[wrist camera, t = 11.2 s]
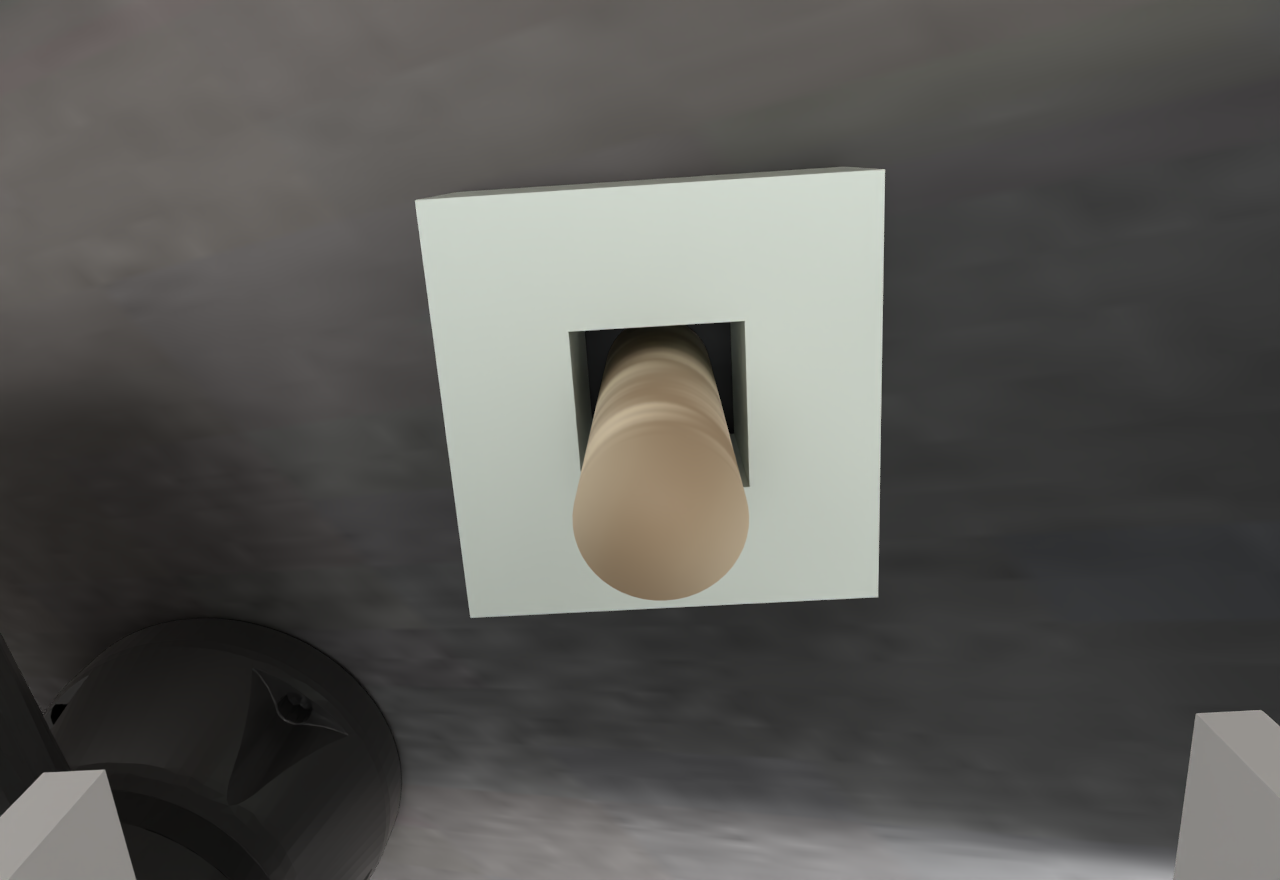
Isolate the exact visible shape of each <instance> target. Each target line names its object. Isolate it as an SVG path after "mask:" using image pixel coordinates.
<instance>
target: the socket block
mask: <svg viewBox="0 0 1280 880" xmlns="http://www.w3.org/2000/svg"><path fill="white" fill-rule="evenodd" d="M884 198H885V169H873V168H858V167H830V168H815V169H799V170H784V171H769V172H754V173H739V174H723V175H708V176H693V177H678V178H663V179H647V180H632V181H617V182H602V183H587V184H571V185H556V186H541V187H526V188H510V189H495V190H480V191H465V192H454V193H449V194H444V195H439V196H433V197H428V198H423V199H418V200H415V205H416V213H417V220H418V228H419V235H420V243H421V250H422V258H423V265H424V273H425V280H426V288H427V295H428V303H429V310H430V318H431V325H432V333H433V340H434V348H435V355H436V363H437V370H438V378H439V385H440V393H441V400H442V408H443V416H444V423H445V431H446V438H447V446H448V453H449V461H450V468H451V476H452V483H453V491H454V498H455V506H456V513H457V521H458V528H459V536H460V543H461V551H462V558H463V566H464V573H465V581H466V588H467V596H468V603H469V611H470V618H477V617H497V616H516V615H536V614H555V613H575V612H595V611H614V610H634V609H654V608H673V607H693V606H713V605H732V604H752V603H771V602H791V601H811V600H830V599H850V598H870V597H878V571H879V508H880V446H881V384H882V322H883V260H884ZM720 322H730V329H731V359H732V388H733V417H734V434H729V435H730V439H731V442H732V446H733V450H734V454H735V457H736V461H737V465H738V469H739V473H740V476H741V480H742V484H743V488H744V491H745V495H746V499H747V503H748V510H749V529H748V534H747V539H746V542H745V545H744V548H743V550H742V552H741V554H740V556H739V558H738V559H737V561H736V562H735V564H734V565H733V567H732V568H731V569H730V570H729V571H728V572H727V573H726V575H725V576H723V577H722V578H721V579H720V580H719V581H718V582H716V583H715V584H713V585H712V586H710V587H709V588H707V589H705V590H703V591H701V592H699V593H697V594H694V595H691V596H689V597H685V598H680V599H676V600H666V601H654V600H646V599H641V598H637V597H633V596H630V595H627V594H625V593H622V592H620V591H618V590H616V589H615V588H613V587H611V586H610V585H608V584H607V583H605V582H604V581H603V580H602V579H600V578H599V577H598V576H597V575H596V574H595V573H594V572H593V571H592V569H591V568H590V567H589V566H588V565H587V563H586V561H585V560H584V558H583V557H582V555H581V553H580V551H579V549H578V546H577V543H576V540H575V537H574V531H573V516H572V515H573V507H574V501H575V497H576V492H577V488H578V484H579V479H580V475H581V470H582V466H583V462H584V457H585V453H586V448H587V444H588V440H589V435H590V431H591V426H592V412H591V400H590V388H589V376H588V363H587V351H586V339H585V331H588V330H604V329H621V328H637V327H654V326H670V325H687V324H703V323H720Z"/></svg>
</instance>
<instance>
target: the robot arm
mask: <svg viewBox="0 0 1280 880" xmlns="http://www.w3.org/2000/svg"><path fill="white" fill-rule="evenodd" d="M401 785H402V784H401V769H400V761H399V757H398V752H397V749H396V745H395V742H394V739H393V737H392V734H391V732H390V729H389V727H388V725H387V723H386V721H385V719H384V718H383V716H382V714H381V712H380V711H379V709H378V708H377V706H376V705H375V703H374V702H373V700H372V699H371V698H370V696H369V695H368V694H367V693H366V691H365V690H364V689H363V688H362V687H361V686H360V685H359V684H358V683H357V681H356V680H355V679H354V678H353V677H351V676H350V675H349V674H348V673H347V672H346V671H345V670H344V669H343V668H341V667H340V666H339V665H338V664H337V663H335V662H334V661H333V660H331V659H330V658H328V657H327V656H326V655H324V654H323V653H321V652H319V651H318V650H316V649H315V648H313V647H311V646H309V645H307V644H306V643H304V642H302V641H300V640H298V639H295V638H293V637H291V636H289V635H286V634H284V633H281V632H279V631H276V630H273V629H270V628H267V627H263V626H260V625H256V624H252V623H247V622H241V621H236V620H227V619H213V618H198V619H185V620H177V621H171V622H166V623H162V624H158V625H154V626H151V627H148V628H145V629H143V630H140V631H138V632H135V633H133V634H131V635H129V636H127V637H125V638H123V639H121V640H120V641H118V642H116V643H115V644H113V645H112V646H110V647H109V648H107V649H106V650H105V651H103V652H102V653H101V654H100V655H99V656H98V657H97V658H95V659H94V660H93V661H92V662H91V663H90V664H89V665H88V666H87V667H86V668H84V669H83V670H82V671H81V672H80V673H79V674H78V675H77V676H76V677H75V678H74V679H72V680H71V681H70V682H69V683H68V684H67V685H66V686H65V687H64V688H63V690H62V691H61V692H60V693H59V694H58V696H57V697H56V698H55V700H54V701H53V702H52V703H51V705H50V706H49V708H48V709H47V711H46V712H45V714H44V716H43V715H42V713H41V711H40V709H39V707H38V705H37V703H36V701H35V699H34V697H33V695H32V693H31V691H30V689H29V687H28V685H27V683H26V681H25V680H24V678H23V676H22V674H21V672H20V670H19V668H18V666H17V664H16V662H15V660H14V658H13V656H12V654H11V652H10V650H9V648H8V646H7V644H6V643H5V641H4V639H3V637H2V635H1V633H0V880H369V879H370V877H371V875H372V874H373V872H374V870H375V868H376V867H377V865H378V863H379V861H380V858H381V856H382V854H383V851H384V849H385V846H386V844H387V841H388V839H389V836H390V833H391V831H392V828H393V826H394V823H395V820H396V817H397V813H398V809H399V805H400V798H401ZM1173 880H1280V726H1279V725H1278V724H1276V723H1275V722H1274V721H1273V720H1272V719H1271V718H1270V717H1269V716H1268V715H1266V714H1265V713H1264V712H1263V711H1262V710H1254V711H1234V712H1215V713H1196V717H1195V724H1194V732H1193V739H1192V746H1191V754H1190V761H1189V768H1188V776H1187V783H1186V790H1185V798H1184V805H1183V812H1182V820H1181V827H1180V834H1179V842H1178V849H1177V856H1176V864H1175V871H1174V878H1173Z"/></svg>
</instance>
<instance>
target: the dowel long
mask: <svg viewBox="0 0 1280 880" xmlns="http://www.w3.org/2000/svg"><path fill="white" fill-rule="evenodd" d="M572 516H573V531H574V537H575V540H576V543H577V546H578V549H579V551H580V553H581V555H582V557H583V558H584V560H585V561H586V563H587V565H588V566H589V567H590V568H591V569H592V571H593V572H594V573H595V574H596V575H597V576H598V577H599V578H600V579H602V580H603V581H604V582H605V583H607V584H608V585H610V586H611V587H613V588H615V589H616V590H618V591H620V592H622V593H625V594H627V595H630V596H633V597H637V598H641V599H646V600H654V601H666V600H676V599H680V598H685V597H689V596H691V595H694V594H697V593H699V592H701V591H703V590H705V589H707V588H709V587H710V586H712V585H713V584H715V583H716V582H718V581H719V580H720V579H721V578H722V577H723V576H725V575H726V573H727V572H728V571H729V570H730V569H731V568H732V567H733V565H734V564H735V562H736V561H737V559H738V558H739V556H740V554H741V552H742V550H743V548H744V545H745V542H746V539H747V534H748V529H749V510H748V503H747V499H746V495H745V491H744V488H743V484H742V480H741V476H740V473H739V469H738V465H737V461H736V457H735V454H734V450H733V446H732V442H731V439H730V435H729V431H728V427H727V424H726V420H725V416H724V412H723V408H722V405H721V401H720V397H719V393H718V390H717V386H716V382H715V378H714V375H713V371H712V367H711V363H710V359H709V356H708V352H707V350H706V347H705V345H704V344H703V342H702V340H701V339H700V338H699V336H698V335H697V334H696V333H695V332H694V331H693V330H691V329H690V328H689V327H688V326H686V325H670V326H654V327H637V328H626V329H625V330H623V331H622V332H621V333H620V334H619V335H618V337H617V338H616V339H615V341H614V342H613V344H612V346H611V348H610V350H609V353H608V356H607V360H606V365H605V369H604V373H603V378H602V382H601V387H600V391H599V395H598V400H597V404H596V409H595V413H594V418H593V422H592V426H591V431H590V435H589V440H588V444H587V448H586V453H585V457H584V462H583V466H582V470H581V475H580V479H579V484H578V488H577V492H576V497H575V501H574V507H573V515H572Z"/></svg>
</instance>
